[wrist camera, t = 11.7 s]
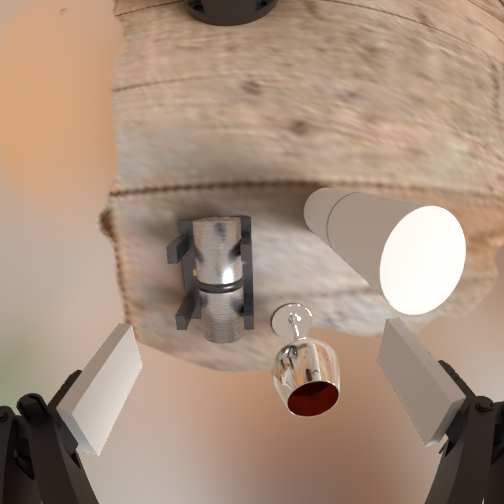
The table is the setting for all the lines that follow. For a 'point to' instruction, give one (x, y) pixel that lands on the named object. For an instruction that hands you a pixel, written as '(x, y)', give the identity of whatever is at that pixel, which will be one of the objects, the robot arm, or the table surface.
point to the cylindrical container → (392, 244)
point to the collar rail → (186, 252)
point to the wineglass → (304, 365)
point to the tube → (220, 277)
